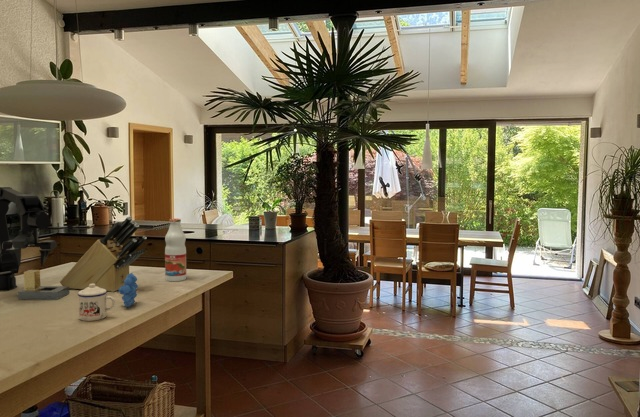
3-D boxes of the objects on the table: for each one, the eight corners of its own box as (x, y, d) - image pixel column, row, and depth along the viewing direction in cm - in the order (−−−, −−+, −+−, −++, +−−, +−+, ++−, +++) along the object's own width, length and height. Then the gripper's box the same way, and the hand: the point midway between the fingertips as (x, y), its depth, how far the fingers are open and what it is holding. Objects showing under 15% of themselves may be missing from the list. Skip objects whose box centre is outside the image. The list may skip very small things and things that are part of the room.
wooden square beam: (24, 289, 200) (23, 271, 199) (30, 287, 204) (29, 269, 203) (34, 289, 200) (34, 272, 199) (40, 287, 204) (39, 269, 203)
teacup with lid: (74, 321, 170) (73, 287, 169) (84, 313, 179) (83, 281, 178) (111, 321, 171) (110, 286, 170) (119, 313, 180) (118, 280, 179)
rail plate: (18, 299, 197) (18, 291, 197) (32, 293, 207) (32, 285, 207) (57, 299, 197) (57, 291, 197) (69, 293, 207) (69, 285, 207)
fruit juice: (189, 277, 239) (189, 218, 236) (181, 282, 229) (180, 220, 227) (170, 276, 240) (169, 217, 238) (161, 281, 231) (160, 219, 228)
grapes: (123, 301, 195) (123, 270, 194) (141, 301, 196) (141, 270, 195) (113, 310, 184) (112, 277, 183) (132, 309, 184) (131, 277, 183)
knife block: (134, 293, 207) (133, 218, 205) (59, 289, 214) (56, 215, 212) (149, 287, 218) (148, 215, 216) (77, 283, 225) (75, 213, 223)
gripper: (-8, 229, 192) (-6, 270, 193) (42, 229, 192) (43, 270, 194) (9, 226, 203) (11, 264, 204) (57, 226, 203) (58, 265, 205)
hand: (30, 266), depth 201 cm, fingers open, 9 cm apart
